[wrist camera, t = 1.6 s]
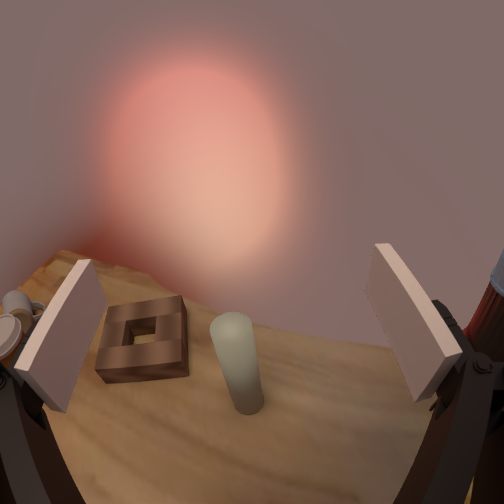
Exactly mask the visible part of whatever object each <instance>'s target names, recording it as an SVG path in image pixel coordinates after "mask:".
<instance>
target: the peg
mask: <svg viewBox="0 0 504 504" xmlns="http://www.w3.org/2000/svg"><path fill="white" fill-rule="evenodd" d="M210 334H211V337H212V340H213V343H214V347H215V350H216V353H217V356H218V359H219V362H220V365H221V368H222V371H223V374H224V377H225V380H226V383H227V386H228V389H229V392H230V395H231V398H232V400H233V403H234V406H235V408H236V410H237V411H238V412H240V413H241V414H245V415H252V414H255V413H257V412H258V411H260V410H261V408H262V407H263V404H264V400H263V394H262V387H261V381H260V374H259V368H258V362H257V355H256V349H255V342H254V335H253V329H252V323H251V320H250V319H249V318H248V317H247V316H246V315H244V314H242V313H239V312H228V313H224V314H222V315H220V316H218V317H217V318H215V319H214V320H213V322H212V323H211V326H210Z"/></svg>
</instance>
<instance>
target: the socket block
mask: <svg viewBox="0 0 504 504" xmlns="http://www.w3.org/2000/svg"><path fill="white" fill-rule="evenodd" d="M153 333H155V342H152V343H144V344H136V345H133V342H134V336H138V335H145V334H153ZM95 371H96V372H97V373H98V374H99V376H100V377H101V378H102V379H103V380H104V382H105V383H106V384H107V383H124V382H138V381H149V380H159V379H168V378H177V377H185V376H189V368H188V342H187V311H186V308H185V305H184V302H183V299H182V296H181V295H179V296H173V297H167V298H161V299H155V300H149V301H143V302H136V303H130V304H123V305H117V306H110V307H108V311H107V315H106V319H105V323H104V328H103V332H102V336H101V341H100V345H99V350H98V355H97V360H96V365H95Z"/></svg>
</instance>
